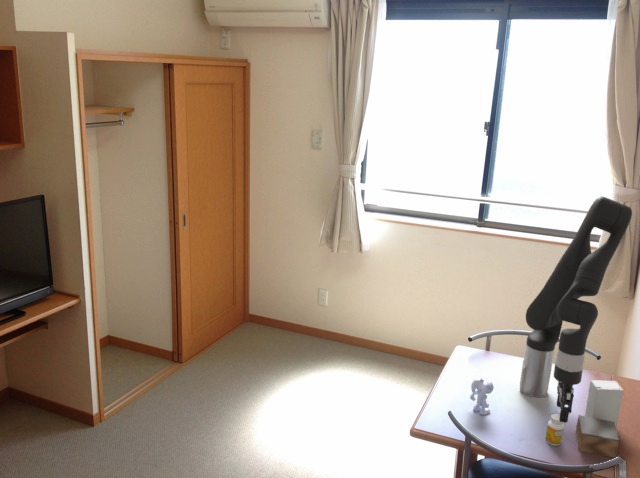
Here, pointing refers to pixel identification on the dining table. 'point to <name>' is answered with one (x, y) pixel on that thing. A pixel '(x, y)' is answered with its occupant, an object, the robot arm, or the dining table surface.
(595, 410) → the skincare box
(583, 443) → the walnut block
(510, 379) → the dining table surface
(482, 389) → the toy figurine
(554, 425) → the supplement bottle
